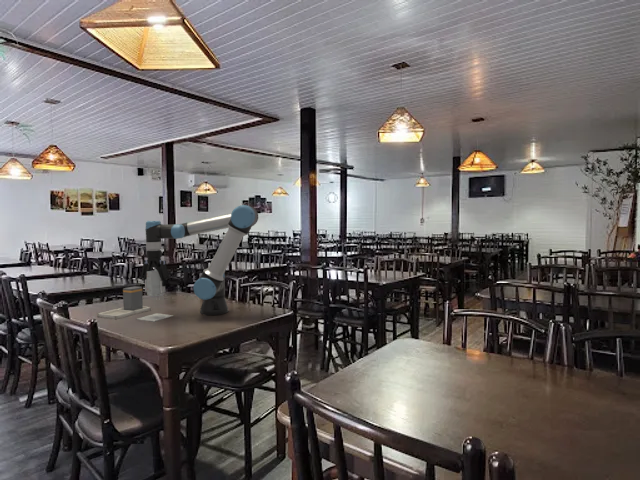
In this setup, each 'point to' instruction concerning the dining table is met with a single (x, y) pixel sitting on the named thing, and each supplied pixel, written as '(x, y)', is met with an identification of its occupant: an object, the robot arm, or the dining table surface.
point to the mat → (154, 317)
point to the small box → (153, 284)
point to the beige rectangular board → (121, 313)
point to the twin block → (132, 298)
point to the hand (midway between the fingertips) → (155, 291)
